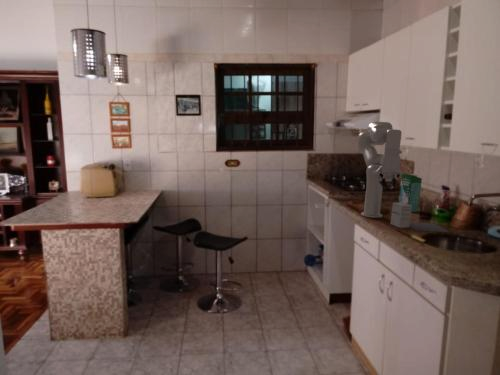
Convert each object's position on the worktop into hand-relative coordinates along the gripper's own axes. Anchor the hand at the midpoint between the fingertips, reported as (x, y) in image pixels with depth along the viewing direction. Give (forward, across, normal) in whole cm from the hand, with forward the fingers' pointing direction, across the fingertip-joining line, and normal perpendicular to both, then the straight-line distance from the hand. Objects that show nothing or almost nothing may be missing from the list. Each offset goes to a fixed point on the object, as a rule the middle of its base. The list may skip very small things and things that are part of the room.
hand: (388, 185), depth 199 cm
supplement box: (+23, -9, 0) cm, 24 cm away
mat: (+22, -23, 0) cm, 32 cm away
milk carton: (+23, -32, -46) cm, 60 cm away
